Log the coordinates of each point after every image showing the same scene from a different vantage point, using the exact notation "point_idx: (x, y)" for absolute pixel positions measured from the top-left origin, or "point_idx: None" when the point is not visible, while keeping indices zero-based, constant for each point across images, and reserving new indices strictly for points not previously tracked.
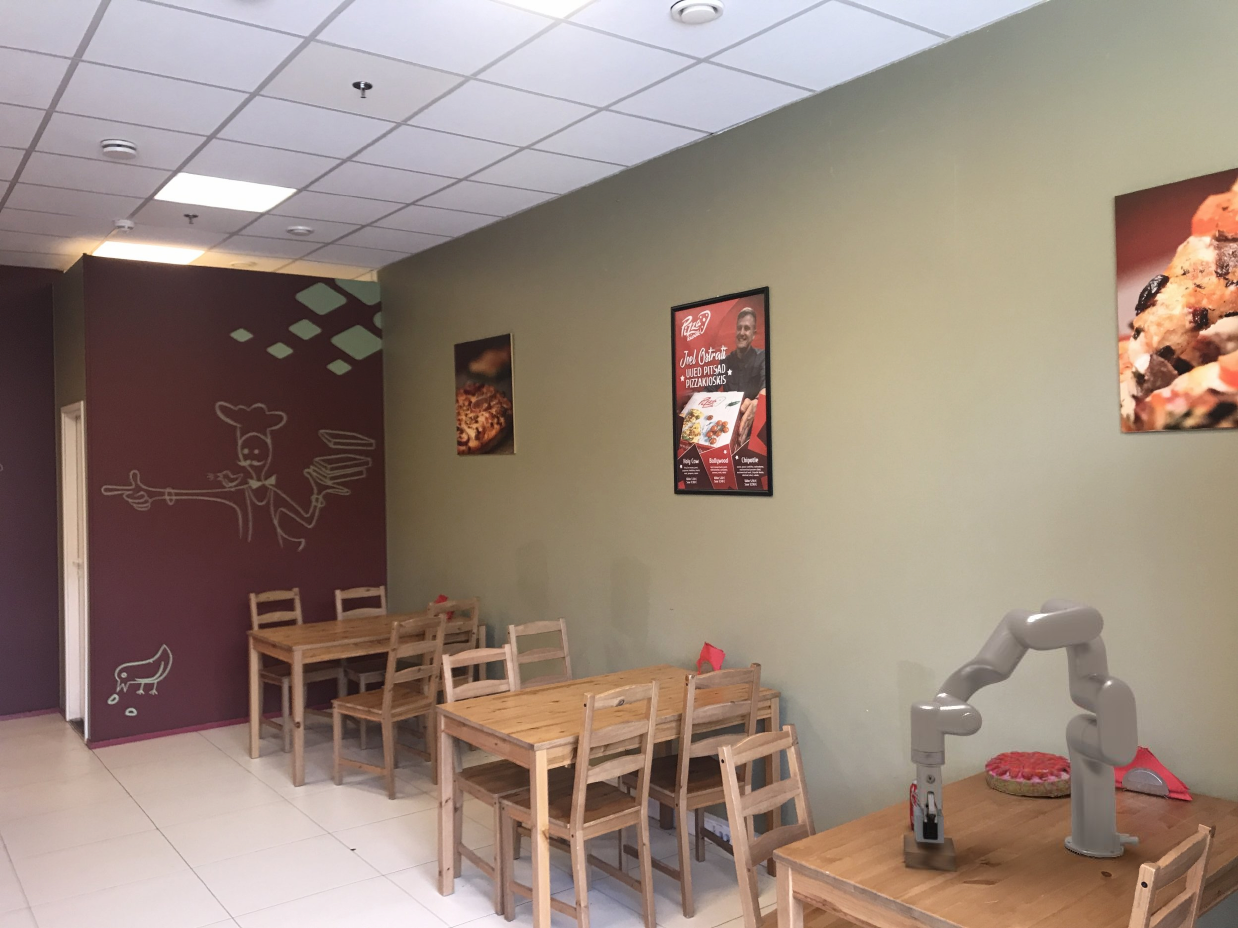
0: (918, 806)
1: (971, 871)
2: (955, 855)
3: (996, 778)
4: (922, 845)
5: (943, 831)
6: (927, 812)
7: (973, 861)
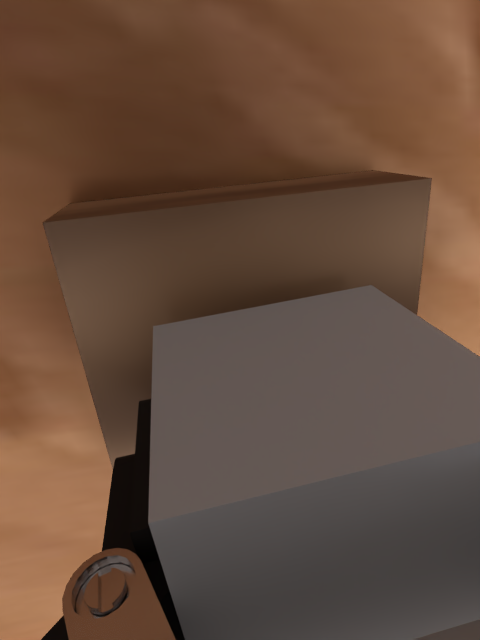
0: None
1: (354, 71)
2: (427, 184)
3: None
4: None
5: (427, 326)
6: (405, 601)
7: (171, 45)
